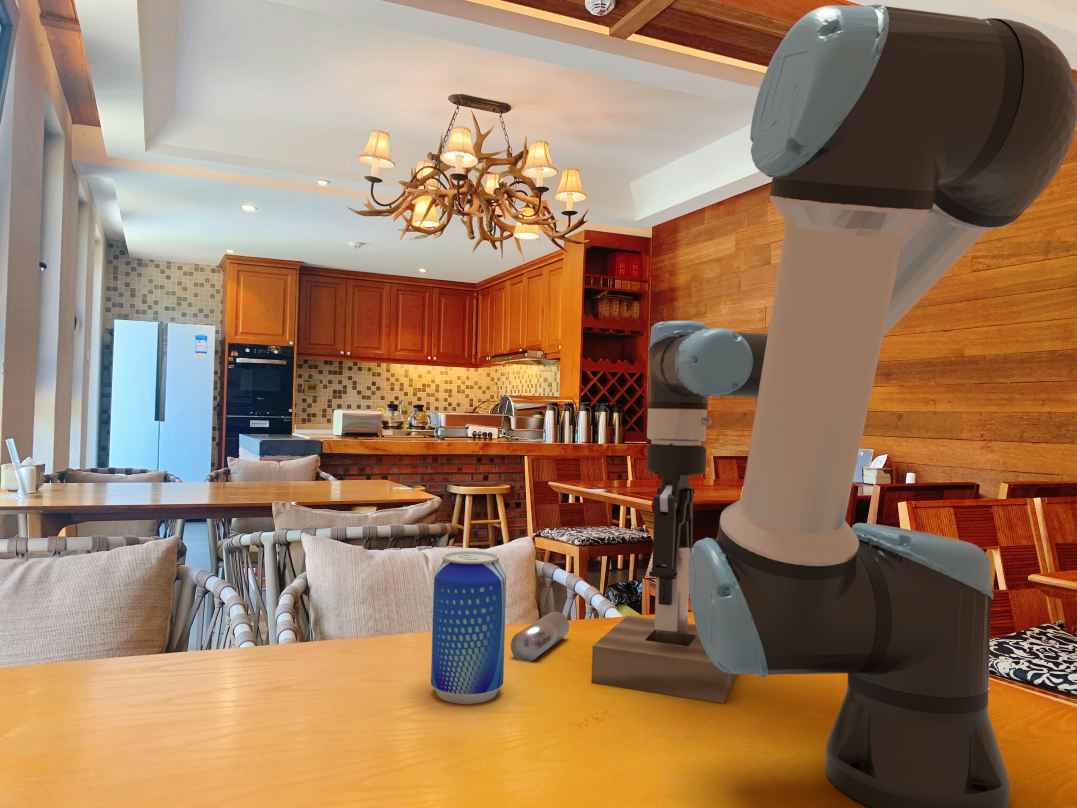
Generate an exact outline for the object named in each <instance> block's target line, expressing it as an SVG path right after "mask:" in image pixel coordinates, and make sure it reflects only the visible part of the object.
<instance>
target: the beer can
mask: <svg viewBox="0 0 1077 808" xmlns="http://www.w3.org/2000/svg"><path fill="white" fill-rule="evenodd" d="M499 559H500V556H499V555H498V554H497V553H493V552H489V551H482V550H459V551H450V552H447V553H444V554H443V555H442V561H441V563H440V564H439V566H438V567H437V570H436V571H435V573H434V575H433V594H432V595H433V599H432V602H433V603H432V628H431V629H432V630H431V631H432V632H431V633H432V635H431V660H430V661H431V664H430V665H431V667H430V670H431V672H430V685H431V687H432V688H433V689H434V690H435V692H436V694H437V697H438V698H439V699H441V700H442V701H445V702H448V703H452V704H458V705H459V704H460V705H461V704H462V705H473V704H479V703H485V702H488V701H490V700H492V699H494V698H495V697H496V696H497V694H498V691H499V690H500V689H501V688H502V686H503V685H504V672H505V671H504V670H505V669H504V668H505V666H504V665H505V636H506V633H505V632H506V606H507V603H506V600H507V598H506V597H507V574H506V572H505V570H504V568H503V567H502V565H501V563H500V561H499Z"/></svg>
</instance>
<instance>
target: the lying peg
mask: <svg viewBox="0 0 1077 808" xmlns="http://www.w3.org/2000/svg"><path fill="white" fill-rule="evenodd" d="M569 631H570V623H569V620H568V618H567V617H566V616H565V615H564V614H563V613H562V612H560V611H551V612H548V613H547V614H546V615H544V616H542V617H541V618H540V619H538V620H536V621H535V622H533V623H532V624H530V625H528V626H527V627H526V628H524V629H522V630H521V631H519V632H517V633H516V634H515V635H514V636H513V637H512V639H511V641H510V650H511V653H512V655H513V657H514V658H515V659H516V660H517V661H520V662H526V661H527V662H528V663H532V662H533V661H534V660H535V659H537V658H538V657H540V656H541V655H543V653H545V652H546V651H548V650H549V649H551V648H552V647H553V646H554V645H557V643H558V642H559V641H561V640H563V639H564V638H565V637H566V636H567V635H568V633H569ZM527 662H526V663H527Z"/></svg>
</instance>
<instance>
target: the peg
mask: <svg viewBox="0 0 1077 808" xmlns="http://www.w3.org/2000/svg"><path fill="white" fill-rule="evenodd" d="M689 556H690V548H689V547H686V546H679V552H678V563H677V576H676V578H679V588H678V624H677V631H676V632H674V631H666V630H658V629H656V639H655V642H660V643H667V644H675V645H682V646H687V628H688V621H689V599H690V593H689V580H688V565H689ZM662 566H666V565H662Z"/></svg>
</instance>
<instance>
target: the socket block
mask: <svg viewBox="0 0 1077 808" xmlns="http://www.w3.org/2000/svg"><path fill="white" fill-rule="evenodd" d="M655 639H656V629H655V618H649V617H641V616H633V615H626V616H625V617H624V618H622V620H620V621H619V622H618V623H617V624H616V625H615V626H613V628H611V629H609V631H608V632H607V633H605V634H603V636H602V637H600V639H598V640H597V641H596V642H595V643H593V645H592V648H591V649H592V651H591V653H592V655H591V683H592V684H593V683H594V684H598V685H599V684H600V685H605V686H611V687H618V688H625V689H631V690H636V691H643V692H648V693H649V692H650V693H653V694H656V693H657V694H662V695H667V696H673V697H679V698H680V697H681V698H686V699H693V700H700V701H705V702H711V703H717V704H718V703H719V704H722V705H723V704H725V702H726V700H727V698H728V695H729V693H730V691H731V689H732V687H733V684H734V683H735V681H736V678H737V676H738V674H731V673H726V672H724V671H722V670H720V669H719V668H718V667H716V666H715V665H714V664H713V663H712V661H711V660H710V659H709V657H708V656H707V654H706V652H705V650H704V648H703V646H702V643H701V641H700V638H699V635H698V632H697V629H696V625H695V623H688V628H687V646H682V645H675V644H667V643H660V642H655Z"/></svg>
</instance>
